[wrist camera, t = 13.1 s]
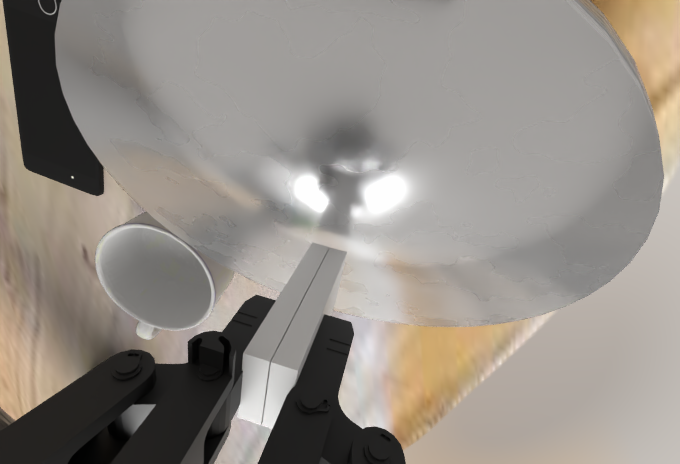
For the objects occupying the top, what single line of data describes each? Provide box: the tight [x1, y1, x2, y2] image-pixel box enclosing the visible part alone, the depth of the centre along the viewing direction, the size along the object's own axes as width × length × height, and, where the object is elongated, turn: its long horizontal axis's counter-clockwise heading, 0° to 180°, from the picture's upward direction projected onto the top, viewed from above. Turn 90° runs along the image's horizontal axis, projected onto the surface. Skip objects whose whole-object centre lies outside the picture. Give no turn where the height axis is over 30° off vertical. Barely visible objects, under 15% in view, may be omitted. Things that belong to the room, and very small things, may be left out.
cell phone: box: [3, 0, 104, 196], centre depth 34 cm, size 9×18×1 cm, turn 163°
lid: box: [55, 0, 664, 327], centre depth 13 cm, size 20×23×2 cm
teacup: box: [95, 212, 234, 340], centre depth 35 cm, size 14×11×8 cm
